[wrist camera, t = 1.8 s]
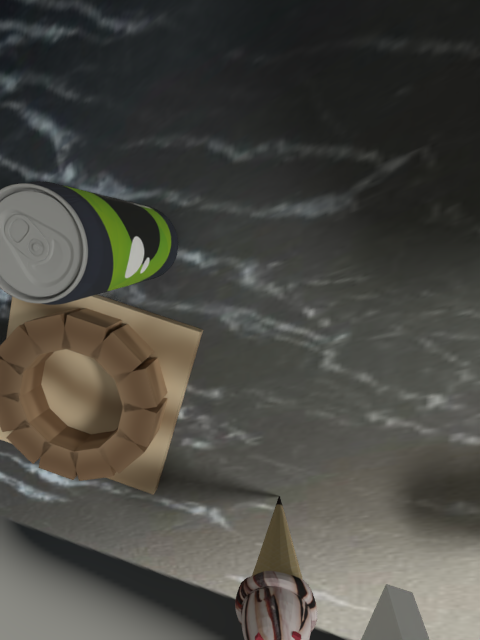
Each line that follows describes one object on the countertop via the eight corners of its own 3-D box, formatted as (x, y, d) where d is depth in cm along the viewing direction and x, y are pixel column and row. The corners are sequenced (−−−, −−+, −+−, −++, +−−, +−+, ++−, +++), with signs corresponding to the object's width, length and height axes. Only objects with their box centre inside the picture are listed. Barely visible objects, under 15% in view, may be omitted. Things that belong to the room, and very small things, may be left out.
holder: (23, 270, 34) (-11, 274, 30) (203, 329, 33) (191, 341, 29) (-1, 431, 38) (-33, 453, 34) (157, 488, 37) (142, 516, 33)
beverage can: (100, 242, 32) (-52, 244, 18) (144, 191, 31) (18, 147, 16) (148, 292, 33) (39, 333, 18) (195, 243, 31) (116, 246, 17)
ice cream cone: (240, 502, 36) (210, 676, 22) (268, 460, 35) (256, 617, 20) (289, 530, 36) (291, 722, 22) (319, 489, 35) (342, 666, 20)
